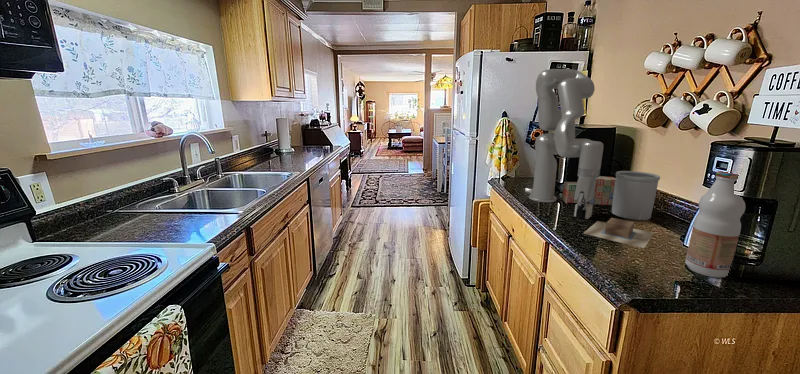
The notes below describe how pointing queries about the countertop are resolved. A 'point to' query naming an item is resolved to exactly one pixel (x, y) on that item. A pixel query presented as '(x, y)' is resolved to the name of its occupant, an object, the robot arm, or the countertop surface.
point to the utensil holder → (634, 194)
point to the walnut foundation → (619, 227)
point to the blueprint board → (635, 239)
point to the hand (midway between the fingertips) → (582, 216)
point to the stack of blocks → (602, 191)
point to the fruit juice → (716, 228)
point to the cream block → (588, 210)
